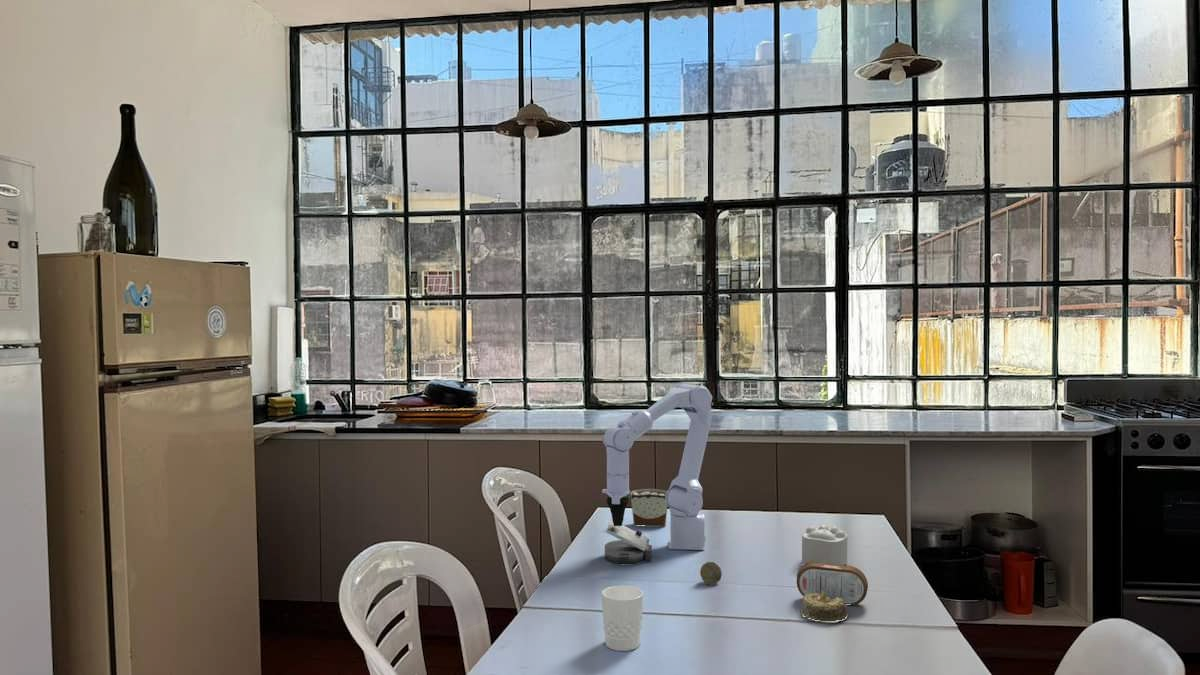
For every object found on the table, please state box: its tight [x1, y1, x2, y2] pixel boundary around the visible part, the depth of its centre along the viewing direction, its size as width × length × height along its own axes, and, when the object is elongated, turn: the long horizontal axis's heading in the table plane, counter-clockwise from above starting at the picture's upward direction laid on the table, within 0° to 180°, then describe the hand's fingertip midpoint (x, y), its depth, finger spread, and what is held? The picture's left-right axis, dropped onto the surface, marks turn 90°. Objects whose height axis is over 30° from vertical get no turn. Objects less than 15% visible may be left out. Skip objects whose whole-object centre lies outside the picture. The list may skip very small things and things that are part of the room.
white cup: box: [601, 585, 644, 652], centre depth 151 cm, size 8×8×10 cm
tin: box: [796, 562, 869, 606], centre depth 172 cm, size 15×3×8 cm, turn 71°
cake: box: [800, 591, 849, 621], centre depth 166 cm, size 10×10×5 cm
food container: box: [629, 488, 668, 527], centre depth 237 cm, size 12×6×10 cm, turn 84°
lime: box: [699, 561, 723, 586], centre depth 185 cm, size 4×5×5 cm
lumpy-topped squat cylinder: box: [801, 524, 848, 565], centre depth 201 cm, size 10×13×9 cm
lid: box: [605, 518, 650, 551], centre depth 204 cm, size 12×10×2 cm
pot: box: [604, 539, 653, 565], centre depth 204 cm, size 12×17×3 cm
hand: (617, 525), depth 204 cm, fingers closed
